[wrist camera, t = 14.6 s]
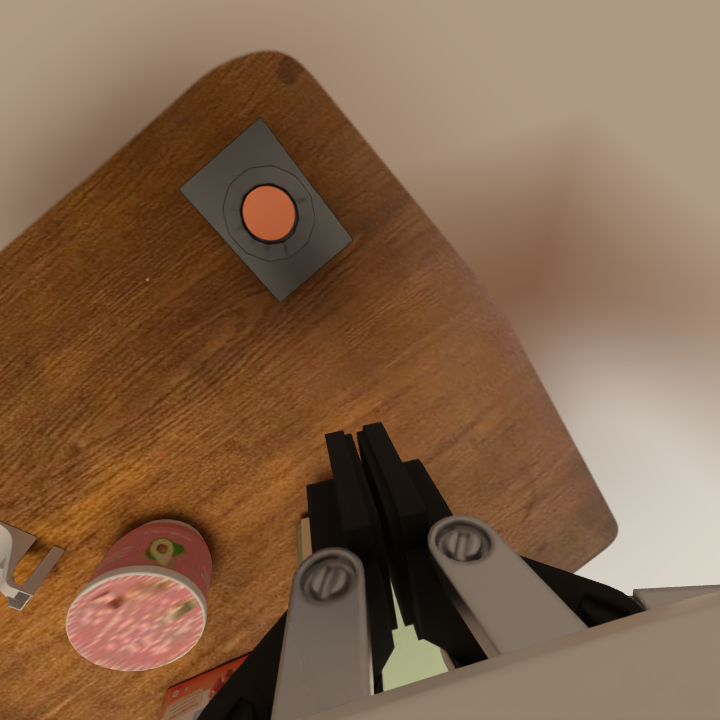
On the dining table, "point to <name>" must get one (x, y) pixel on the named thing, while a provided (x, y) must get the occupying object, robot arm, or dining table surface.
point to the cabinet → (404, 650)
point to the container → (144, 599)
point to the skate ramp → (4, 551)
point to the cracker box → (196, 693)
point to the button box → (226, 199)
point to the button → (268, 213)
